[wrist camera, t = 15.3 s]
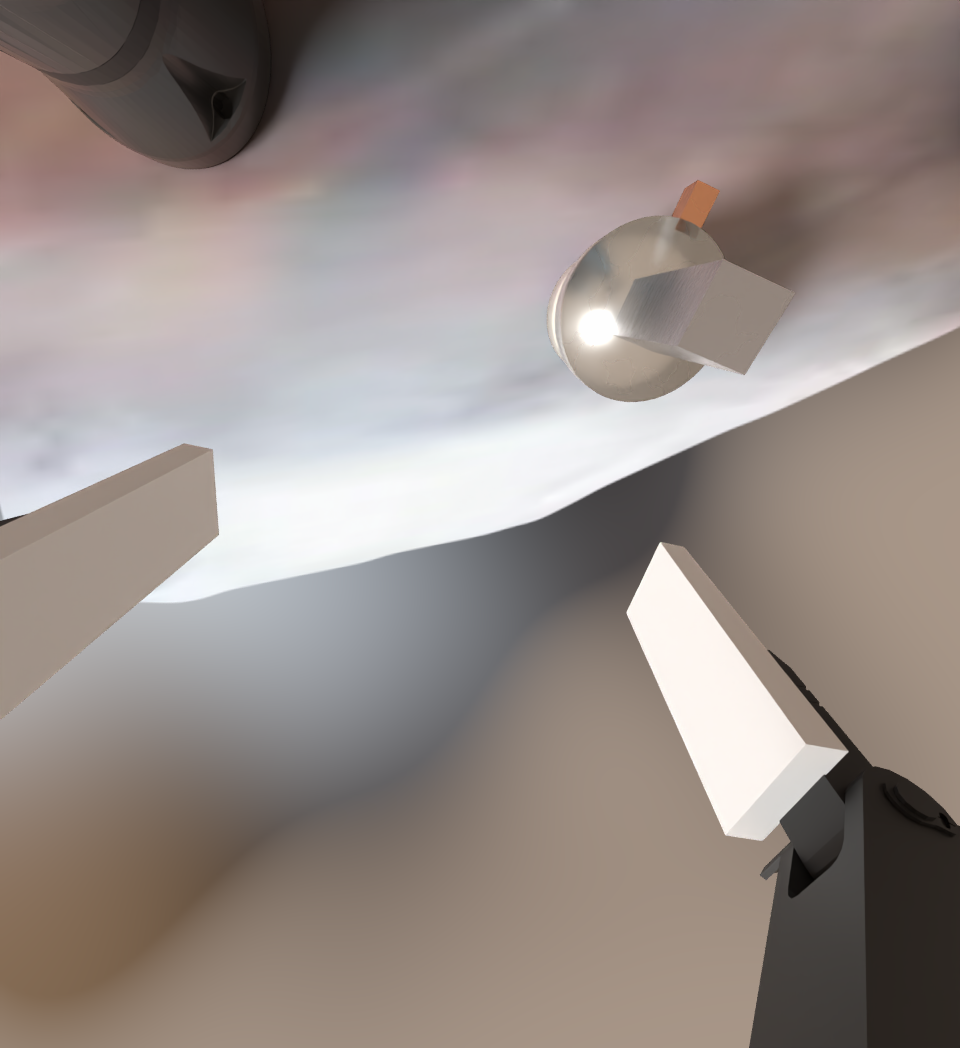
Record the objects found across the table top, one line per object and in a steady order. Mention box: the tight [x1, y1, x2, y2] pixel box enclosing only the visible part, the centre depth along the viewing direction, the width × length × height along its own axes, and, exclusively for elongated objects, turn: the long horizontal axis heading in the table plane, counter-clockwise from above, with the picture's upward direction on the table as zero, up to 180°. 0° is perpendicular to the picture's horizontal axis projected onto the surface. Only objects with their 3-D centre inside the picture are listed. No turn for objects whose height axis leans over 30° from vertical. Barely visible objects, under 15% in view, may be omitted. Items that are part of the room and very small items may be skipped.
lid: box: [555, 180, 795, 402], centre depth 23 cm, size 12×10×14 cm
